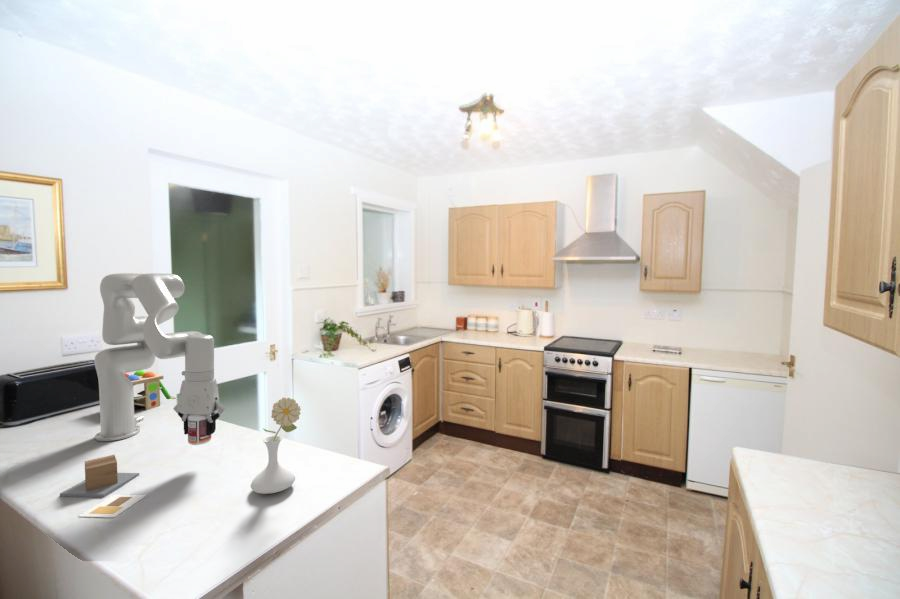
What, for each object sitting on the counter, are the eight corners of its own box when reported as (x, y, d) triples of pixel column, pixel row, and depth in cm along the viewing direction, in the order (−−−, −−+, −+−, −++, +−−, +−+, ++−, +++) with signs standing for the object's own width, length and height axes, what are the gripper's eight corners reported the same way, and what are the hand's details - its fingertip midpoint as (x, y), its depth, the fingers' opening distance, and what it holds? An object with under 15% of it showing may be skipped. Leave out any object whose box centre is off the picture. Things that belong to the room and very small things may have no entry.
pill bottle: (212, 436, 131) (212, 402, 130) (210, 443, 126) (210, 408, 125) (189, 439, 128) (189, 404, 128) (186, 446, 123) (186, 410, 122)
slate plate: (99, 475, 122) (99, 472, 122) (139, 475, 121) (139, 473, 121) (59, 496, 110) (59, 493, 110) (104, 497, 109) (104, 494, 109)
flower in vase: (249, 502, 107) (248, 407, 106) (251, 482, 118) (250, 395, 117) (303, 492, 113) (301, 401, 111) (300, 473, 123) (299, 390, 122)
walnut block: (85, 482, 116) (84, 461, 115) (115, 474, 120) (114, 454, 120) (86, 491, 111) (85, 469, 111) (117, 482, 115) (116, 461, 115)
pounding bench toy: (165, 401, 194) (164, 363, 193) (185, 405, 188) (184, 366, 187) (108, 416, 173) (107, 374, 172) (129, 421, 167) (127, 377, 166)
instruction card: (112, 495, 110) (112, 494, 110) (146, 496, 110) (146, 495, 110) (78, 516, 100) (78, 516, 100) (114, 517, 100) (114, 516, 100)
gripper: (162, 377, 122) (163, 436, 123) (220, 380, 122) (220, 439, 123) (180, 371, 130) (180, 427, 131) (234, 373, 129) (234, 430, 130)
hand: (199, 432), depth 127 cm, fingers closed on pill bottle, 6 cm apart
